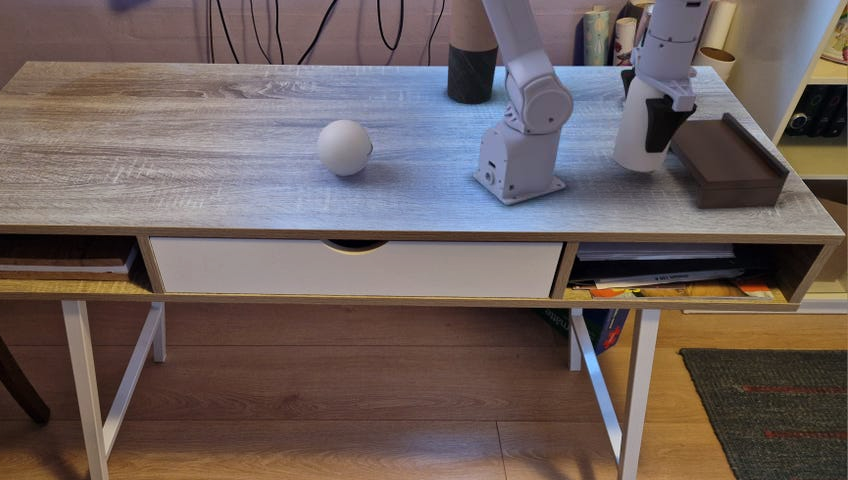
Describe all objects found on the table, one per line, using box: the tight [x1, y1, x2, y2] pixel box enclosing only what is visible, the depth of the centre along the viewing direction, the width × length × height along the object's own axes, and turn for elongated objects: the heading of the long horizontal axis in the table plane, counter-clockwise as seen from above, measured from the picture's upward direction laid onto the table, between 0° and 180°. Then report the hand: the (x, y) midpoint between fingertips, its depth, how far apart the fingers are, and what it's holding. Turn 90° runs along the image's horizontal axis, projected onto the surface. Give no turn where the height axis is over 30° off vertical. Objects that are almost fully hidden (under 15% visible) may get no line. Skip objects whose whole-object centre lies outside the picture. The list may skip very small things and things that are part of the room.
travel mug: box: [446, 0, 500, 105], centre depth 108 cm, size 8×8×20 cm
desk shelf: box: [668, 112, 791, 210], centre depth 93 cm, size 10×16×5 cm, turn 4°
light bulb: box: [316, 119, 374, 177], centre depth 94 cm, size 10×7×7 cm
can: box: [612, 76, 671, 174], centre depth 89 cm, size 6×6×12 cm
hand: (643, 138), depth 91 cm, fingers closed on can, 6 cm apart
